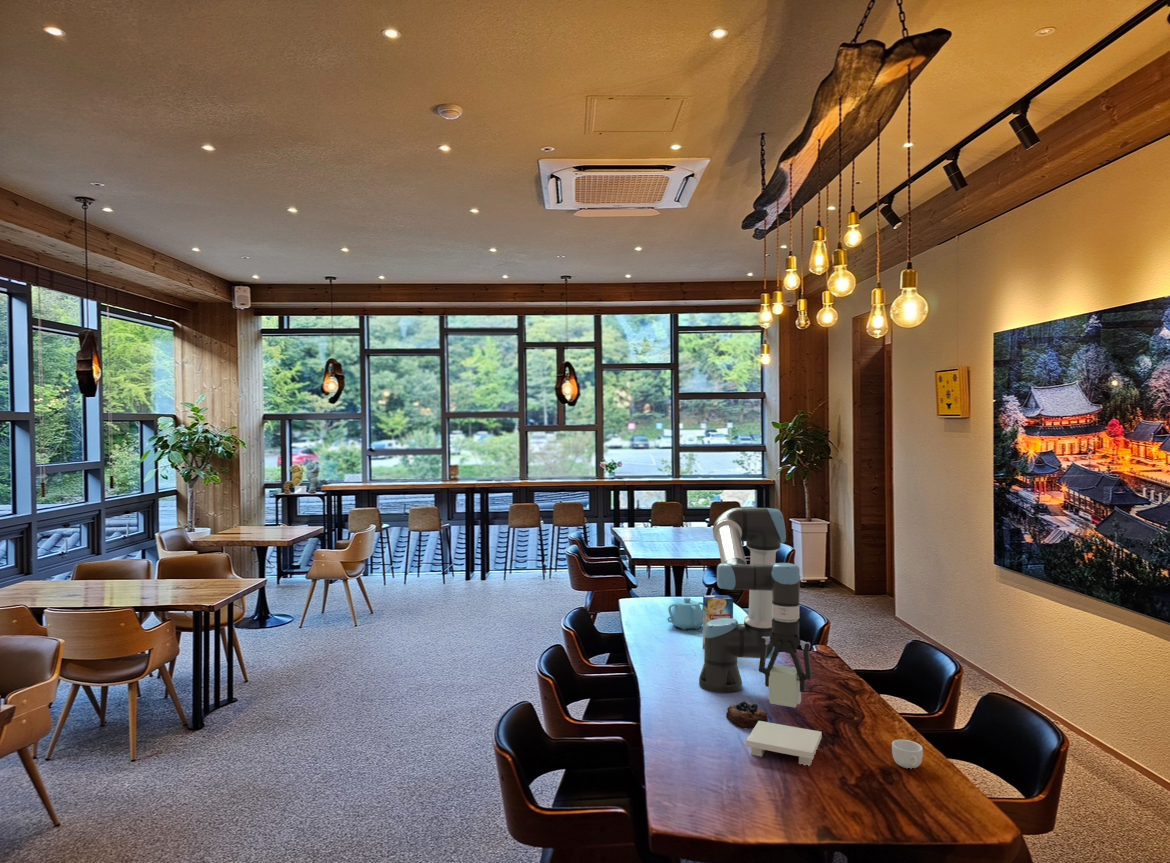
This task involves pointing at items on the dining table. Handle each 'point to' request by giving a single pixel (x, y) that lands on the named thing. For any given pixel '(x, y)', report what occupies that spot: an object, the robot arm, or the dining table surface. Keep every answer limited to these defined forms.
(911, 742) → the teacup
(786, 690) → the sage block
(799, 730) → the serving stand
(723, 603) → the beverage box
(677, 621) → the decorative pot
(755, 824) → the dining table surface
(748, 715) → the pastry
